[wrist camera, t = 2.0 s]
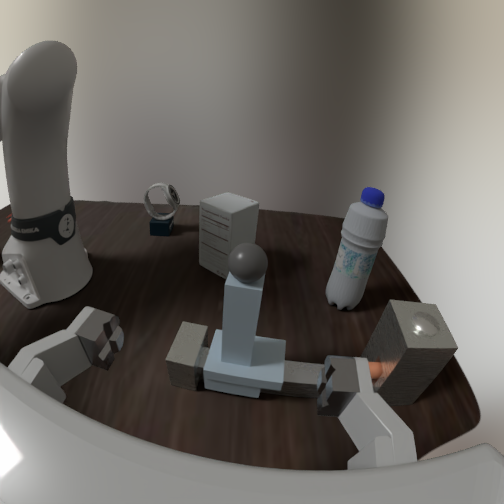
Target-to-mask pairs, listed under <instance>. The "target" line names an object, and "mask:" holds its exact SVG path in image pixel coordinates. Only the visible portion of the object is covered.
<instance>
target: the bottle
mask: <svg viewBox="0 0 504 504" xmlns="http://www.w3.org/2000/svg"><path fill="white" fill-rule="evenodd" d="M383 202H384V194H383V193H382V192H381V191H380V190H378V189H375V188H370V187H367V188H365V189H364V190H363V192H362V195H361V202H357V203H353V204H351V205H350V208H349V210H348V213H347V215H346V218H345V220H344V222H343V229H342V231H341V233H342V240H341V243H340V247H339V251H338V254H337V258H336V261H335V265H334V268H333V271H332V273H331V276H330V278H329V281H328V284H327V287H326V297H327V298H328V302H329V304H330V305H334V303H336V304H337V309H338V310H342V309H343V308H344V307H346V308H347V310H352V309H353V308H354V307H355V306H356V305H357V304H358V303H359V302H360V300H361V298H362V296H363V293H364V290H365V287H366V283H367V280H368V277H369V274H370V271H371V269H372V266H373V263H374V260H375V257H376V254H377V252H378V249H379V248H380V247H381V246H382V242H383V240H384V238H385V233H386V227H387V221H388V215H387V214H386V213H385V212H384V211H383V210H382V209H381V207H382V205H383Z"/></svg>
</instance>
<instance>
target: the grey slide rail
mask: <svg viewBox="0 0 504 504" xmlns="http://www.w3.org/2000/svg"><path fill="white" fill-rule="evenodd" d="M457 349H458V347H457V345H456V343H455V341H454V339H453V337H452V335H451V333H450V331H449V329H448V327H447V325H446V323H445V321H444V320H443V317H442V315H441V313H440V311H439V310H438V308H437V306H436V305H435V304H426V303H417V302H408V301H399V300H389V302H388V304H387V306H386V308H385V310H384V312H383V314H382V317H381V319H380V321H379V323H378V325H377V327H376V329H375V331H374V332H373V334H372V336H371V338H370V340H369V342H368V344H367V346H366V347H365V349H364V351H363V353H362V355H361V356H360V358H367V360H368V362H381V366H382V370H383V373H382V375H381V376H380V377H379V379H372V385H373V390H374V393H378V394H379V395H380V396H381V397H382V399H383V400H384V401H385V402H386V403H387V404H388V405H389V406H398V405H411V404H412V403H413V402H414V401H415V400H416V399H417V398H418V397H419V396H420V395H421V394H422V392H423V391H424V390H425V389H426V388H427V387H428V386H429V384H430V383H431V382H432V381H433V380H434V379H435V377H436V376H437V375H438V374H439V372H440V371H441V370H442V369H443V367H444V366H445V365H446V364H447V362H448V361H449V360H450V358H451V357H452V356H453V354H454V353H455V352H456V350H457ZM209 350H210V348H208V326H203V325H198V324H193V323H188V322H184V321H183V322H182V325H181V327H180V329H179V331H178V333H177V335H176V338H175V340H174V342H173V344H172V347H171V349H170V351H169V353H168V355H167V358H166V364H167V369H168V374H169V378H170V383H171V385H173V386H176V387H180V388H184V389H188V390H193V391H196V390H197V387H198V383H199V381H201V382H204V374H203V369H204V366H205V363H206V360H207V357H208V353H209ZM323 367H325V365H324V364H313V363H303V362H294V361H286V360H285V361H284V376H283V385H282V387H281V390H280V391H279V390H271V389H264V388H261V390H260V392H261V393H269V394H277V395H285V396H295V397H306V398H319V397H320V394H319V393H318V392H317V380H318V376H319V373H320V370H321V368H323Z"/></svg>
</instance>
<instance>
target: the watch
mask: <svg viewBox="0 0 504 504" xmlns="http://www.w3.org/2000/svg"><path fill="white" fill-rule="evenodd" d="M155 187H161V188H162V190H163V191H164V195H165V198H166V200H167V202H168V203H169V204H170V205H171V206H172V207H173V209H174V211H173V212H172V213H171V214H170V213H156V212H155V209H154V208H153V206H152V205H151V203H150V200H149V197H148V192H149V190H151V189H152V188H155ZM179 204H180V199H179V196H178V194H177V192H176V190H175V189H174V187H173V186H172V185H168V184H166V183H156V184H154V185H152V186H151V187H150V188H149V189H148V190H147V191H146V193H145V195H144V205H145V208H146V210H147V211H148V213H149V214H150V216H153V218H152V219H151V221H150V235H153V236H169V235H170V233H171V231H172V228H173V226H174V220H173V215H174V214H175V212H176V210H177V208H178V205H179Z"/></svg>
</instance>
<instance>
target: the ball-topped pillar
mask: <svg viewBox="0 0 504 504" xmlns="http://www.w3.org/2000/svg"><path fill="white" fill-rule="evenodd" d="M267 266H268V260H267V256H266V254H265V252H264V250H263V249H262V248H261V247H259V246H258V245H256V244H253V243H243V244H240V245H238V246H236V247H235V248H234V249H233V250H232V251H231V253H230V255H229V258H228V268H229V274H228V277H227V280H226V282H225V288H224V307H223V327H222V330H217V329H216V332H215V335H214V338H213V341H212V344H211V347H210V350H209V353H208V357H207V360H206V363H205V366H204V369H203V374H204V383H205V388H206V389H210V390H215V391H220V392H225V393H231V394H236V395H242V396H248V397H255V398H259V394H260V390H261V388H264V389H271V390H279V391H280V390H281V387H282V385H283V376H284V361H285V344H286V340H278V339H271V338H265V337H258V336H255V334H256V328H257V322H258V316H259V310H260V303H261V297H262V291H263V284H264V278H265V272H266V270H267Z"/></svg>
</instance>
